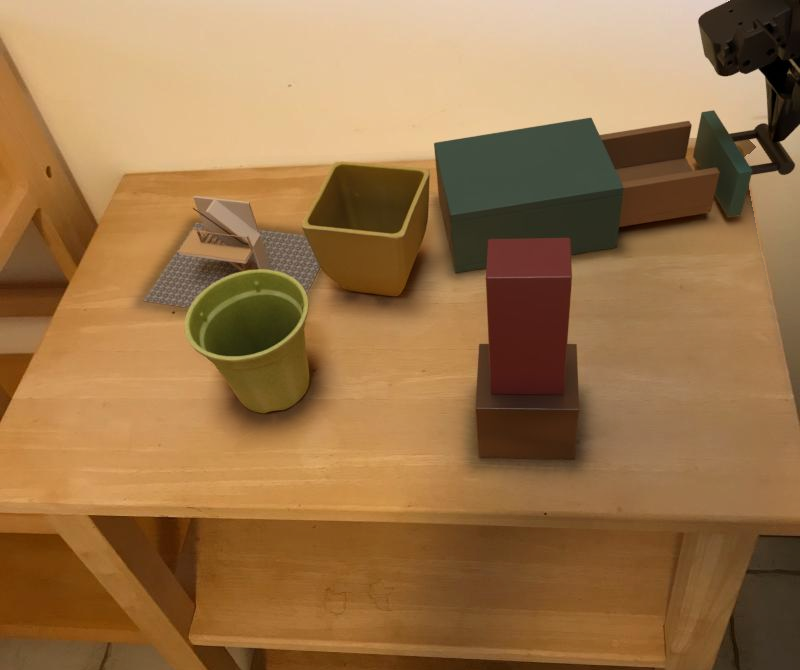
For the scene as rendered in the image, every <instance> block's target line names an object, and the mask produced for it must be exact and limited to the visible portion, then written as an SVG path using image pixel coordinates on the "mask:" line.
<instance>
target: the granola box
mask: <svg viewBox="0 0 800 670" xmlns="http://www.w3.org/2000/svg"><path fill="white" fill-rule="evenodd" d="M572 265H573V264H572V255H571V239H570V238H535V239H489V240H488V247H487V266H486V268H485V287H486V288H485V291H486V312H487V313H486V317H487V341H488V342H487V343H488V344H489V366H490V390H491V394H558V395H563V394H564V384H565V370H566V356H567V344H568V341H569V340H568V339H569V324H570V310H571V298H572V297H571V296H572V283H573V274H572V273H573V269H572Z"/></svg>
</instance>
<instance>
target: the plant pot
mask: <svg viewBox="0 0 800 670" xmlns="http://www.w3.org/2000/svg"><path fill="white" fill-rule="evenodd" d="M307 294H308V293H306V292H305V290H304V288H303V287H302V285H301V284H300V283H299V282H298V281H297V280H296V279H294V278H293V277H291V276H289V275H287V274H285V273H282V272H279V271H273V270H268V269H257V270H247V271H242V272H238V273H234V274H232V275H229V276H227V277H224V278H222V279H220V280H218V281H216V282H215V283H213V284H211V285H210V286H209V287H208V288H206V289H205V290H204V291H203V292H202V293H200V294H199V295H198V296H197V298H196V299H195V300H194V301H193V303H192V304H191V306H190V308H188V309H187V313H186V315H185V319H184V325H183V326H184V327H183V328H184V334H185V337H186V339H187V341H188V343H189V344H190V346H191V347H192V348H193V349H194V350H195V351H196V352H197V353H198V354H200V355H202V357H205V358H206V359H207V360H209V362H211V363H212V364H213V365H214V366H215V368H216V369H217V370H218V372H219V374H220V375H221V376H222V377H223V379H224V380H225V382H226V383H227V384H228V386H229V387H230V389H231V390H232V392H233V394H234V395H235V396H236V398H237V399H238V401H239V402H240V403H241V404H242V405H243V406H244V407H245V408H246V409H248V410H250V411H252V412H255V413H259V414H267V413H270V412H274V411H284V410H285V411H286V410H287V409H289V408H291V407H292V406H294V405H296V404H297V403H299V401H300V400H301V399H302V398H303V397H304V395H305V394H306V392H307V391H308V389H309V385H310V367H309V360H308V352H307V343H306V335H305V327H306V321H307V318H308V313H309V297H308V295H307Z"/></svg>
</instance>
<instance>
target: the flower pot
mask: <svg viewBox="0 0 800 670" xmlns="http://www.w3.org/2000/svg"><path fill="white" fill-rule="evenodd" d="M430 176H431V175H430V169H428V168H424V167H414V166H404V165H403V166H402V165H401V166H399V165H390V164H389V165H387V164H376V163H375V164H374V163H365V162H354V161H353V162H352V161H335V162H333V163H332V165H331V167H330V168H329V170H328V172H327V175H326V177H325V179H324V180H323V183H322V185H321V187H320V189H319V191H318V193H317V195H316V197H315V198H314V200H313V202H312V203H311V205H310V207H309V208H308V210H307V213H306V215H305V216H304V218H303V220H302V222H301V229H302V231H303V233H304V235H305V236H306V238H307V240H308V242H309V245H310V247H311V249H312V251H313V253H314V256H315V258H316V260H317V262H318V264H319V266H320V269H321V270H322V272H323V273H324V274H325V275H326V277H328V278H329V279H330V280H331V281H332V282H334V283H335V284H336V285H338V286H340V287H341V288H343V289H345V290H347V291H350V292H356V293H366V294H374V295H381V296H387V297H399V296H400V295H401V294H402V292H403V291H404V289H405V287H406V284H407V282H408V279H409V277H410V273H411V271H412V269H413V266H414V263H415V261H416V258H417V255H418V253H419V251H420V249H421V246H422V245H423V244H422V243H423V241H424V239H425V234H426V232H427V231H426V230H427V226H428V221H429V208H430V207H429V204H430V178H431V177H430Z"/></svg>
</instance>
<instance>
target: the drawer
mask: <svg viewBox="0 0 800 670" xmlns="http://www.w3.org/2000/svg"><path fill="white" fill-rule="evenodd" d="M692 126H693V125H692V123H691V121H690V120H683V121H678V122H673V123H667V124H666V123H665V124H660V125H659V124H658V125H654V126H645V127H641V128H635V129H628V130H622V131H616V132H610V133H603V134H599V135H600V137H601V139H602V142H603V144H604V146H605V148H606V150H607V153H608V155H609V157H610V159H611V161H612V164H613V166H614V168H615V170H616V172H617V174H618V177H619V179H620V181H621V183H622V185H623V194H622V195H623V197H622V205H621V213H620V222H619V228H622V227H628V226H633V225H640V224H646V223H652V222H653V223H654V222H659V221H665V220H671V219H678V218H683V217H691V216H697V215H704V214H709V213H711V212H712V208H713V205H714V204H713V203H714V199H715V198H716V199H717V202H718V203H719V204H720V206H721V208H722V210H723V212H724V213H725V215H726V217H727V218H733V217H740V216H741V215H742V212H743V208H744V204H745V201H746V197H747V193H748V189H749V186H750V182H751V178H752V176H754V175H759V174H760V175H761V174H766V173H773V172H778V174H779V175H781V176H786V175H789V174H791V173H792V172H793V171H794V170H795V167H796V163H795V162H794V160H793V159H792V157H791V156H790V154H789V153H788V151H787V150H786V149H785V147H784V146H783V144H782V143H781V141H780V142H772V141H771V139H770V138H769V134H768V123H766V122H763V123H759V124H757V125H756V126H755V127H754V128H753V129H749V130H744V131H737V132H731V133H729V131H728V130H727V128H726V127H725V125H724V123H723V122H722V120H721V119H720V117H719V115H718V114H717V112H716V111H715V109H713V110H707V111H702V112H701V113H700V119H699V124H698V129H697V134H696V137H695V138H696V139H695V143H694V150H693V154H692V157H693V159H694V161H695V162H696V164H697V166H698V168H699V169H697V170H693V168H692V166H691V165H690V163H689V161H688V159H687V158H686V157H687V153H688V148H689V142H690V137H691V132H692ZM748 140H756V141H757V142H758V143H759V145H760V147H761V148H762V150H763V151H764V153H765V154H766V156H767V157H768V159H769V160H770V162H766V163H761V164H760V163H759V164H754V165H750V164H749V162H748V161H747V159H746V158H745V156H744V155H743V153H742V152H741V150H740V149H739V146H737V144H736V143H737V142H744V141H748Z"/></svg>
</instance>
